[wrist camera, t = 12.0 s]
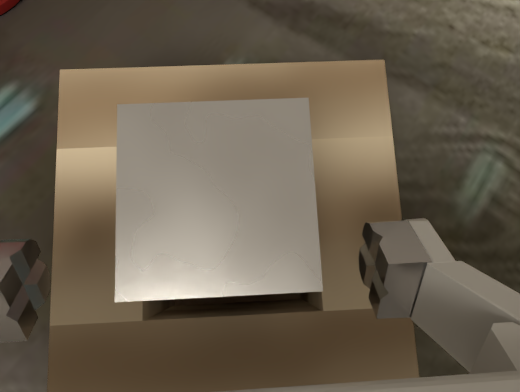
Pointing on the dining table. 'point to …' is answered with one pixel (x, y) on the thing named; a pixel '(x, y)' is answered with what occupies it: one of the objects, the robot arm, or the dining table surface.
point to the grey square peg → (215, 200)
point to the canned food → (7, 5)
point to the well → (230, 307)
